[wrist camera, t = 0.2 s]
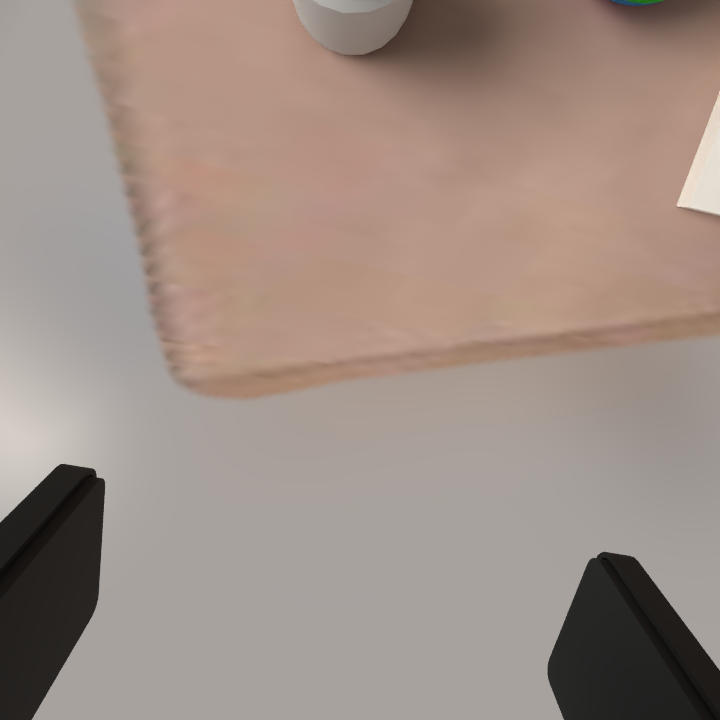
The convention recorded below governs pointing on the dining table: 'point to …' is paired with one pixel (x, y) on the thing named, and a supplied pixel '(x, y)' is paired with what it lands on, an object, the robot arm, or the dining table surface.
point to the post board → (705, 171)
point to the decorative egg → (636, 2)
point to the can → (352, 23)
